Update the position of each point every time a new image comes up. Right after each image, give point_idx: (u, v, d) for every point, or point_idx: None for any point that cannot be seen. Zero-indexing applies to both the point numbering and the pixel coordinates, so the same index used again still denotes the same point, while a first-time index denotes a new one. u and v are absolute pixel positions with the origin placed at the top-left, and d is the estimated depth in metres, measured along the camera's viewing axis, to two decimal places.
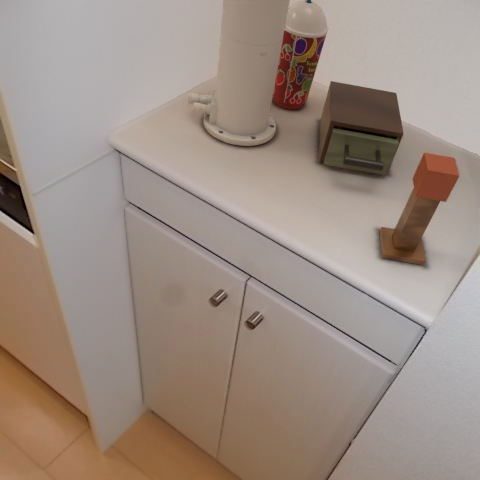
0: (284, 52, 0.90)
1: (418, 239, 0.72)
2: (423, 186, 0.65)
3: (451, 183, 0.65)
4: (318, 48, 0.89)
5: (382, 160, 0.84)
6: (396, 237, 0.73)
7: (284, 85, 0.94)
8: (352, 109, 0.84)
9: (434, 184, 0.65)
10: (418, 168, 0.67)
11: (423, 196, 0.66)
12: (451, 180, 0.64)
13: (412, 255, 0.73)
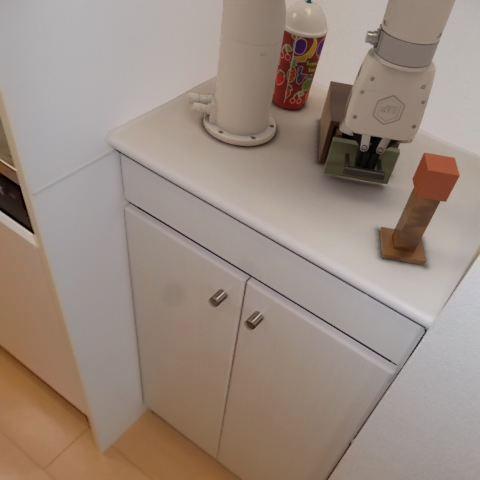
0: (284, 52, 0.90)
1: (418, 239, 0.72)
2: (423, 186, 0.65)
3: (451, 183, 0.65)
4: (318, 48, 0.89)
5: (383, 169, 0.82)
6: (396, 237, 0.73)
7: (284, 85, 0.94)
8: None
9: (434, 184, 0.65)
10: (418, 168, 0.67)
11: (423, 196, 0.66)
12: (451, 180, 0.64)
13: (412, 255, 0.73)
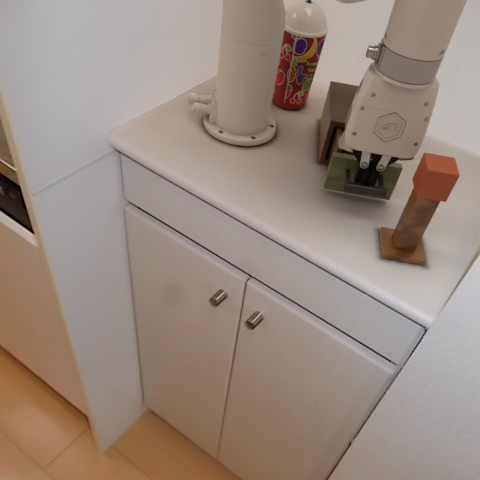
0: (284, 52, 0.90)
1: (418, 239, 0.72)
2: (423, 186, 0.65)
3: (451, 183, 0.65)
4: (318, 48, 0.89)
5: (385, 185, 0.79)
6: (396, 237, 0.73)
7: (284, 85, 0.94)
8: None
9: (434, 184, 0.65)
10: (418, 168, 0.67)
11: (423, 196, 0.66)
12: (451, 180, 0.64)
13: (412, 255, 0.73)
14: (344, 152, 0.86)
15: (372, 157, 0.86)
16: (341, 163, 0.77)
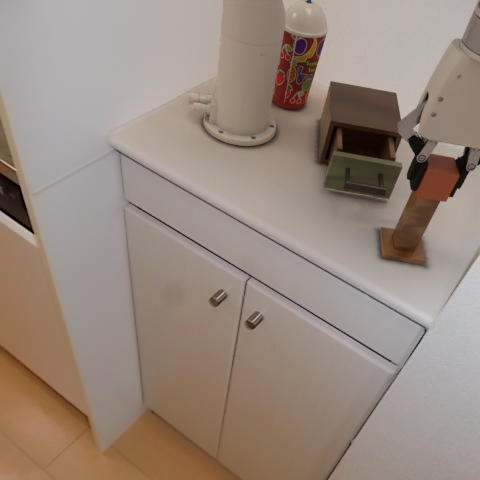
0: (284, 52, 0.90)
1: (418, 239, 0.72)
2: (423, 186, 0.65)
3: (451, 183, 0.65)
4: (318, 48, 0.89)
5: (385, 184, 0.79)
6: (396, 237, 0.73)
7: (284, 85, 0.94)
8: (352, 109, 0.84)
9: (434, 184, 0.65)
10: None
11: (423, 196, 0.66)
12: (451, 180, 0.64)
13: (412, 255, 0.73)
14: (344, 151, 0.87)
15: (372, 156, 0.87)
16: (341, 162, 0.77)
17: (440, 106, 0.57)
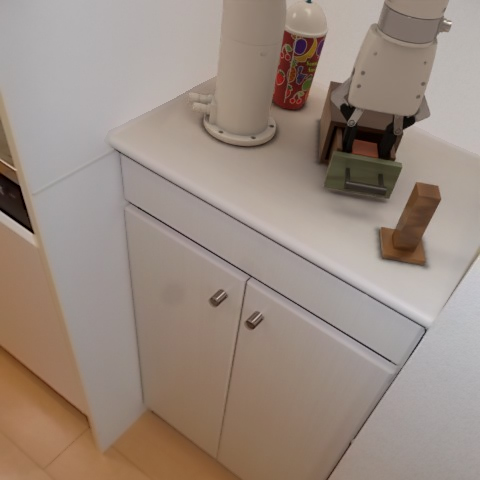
0: (284, 52, 0.90)
1: (418, 239, 0.72)
2: None
3: None
4: (318, 48, 0.89)
5: (385, 184, 0.79)
6: (396, 237, 0.73)
7: (284, 85, 0.94)
8: None
9: None
10: (348, 152, 0.83)
11: None
12: None
13: (412, 255, 0.73)
14: (344, 151, 0.87)
15: None
16: (341, 162, 0.77)
17: (363, 78, 0.70)
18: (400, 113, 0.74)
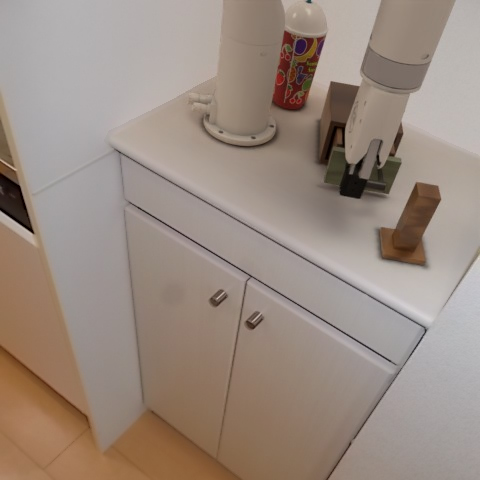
0: (284, 52, 0.90)
1: (418, 239, 0.72)
2: None
3: None
4: (318, 48, 0.89)
5: (384, 179, 0.80)
6: (396, 237, 0.73)
7: (284, 85, 0.94)
8: None
9: None
10: None
11: None
12: None
13: (412, 255, 0.73)
14: (344, 147, 0.87)
15: None
16: (341, 157, 0.78)
17: None
18: None
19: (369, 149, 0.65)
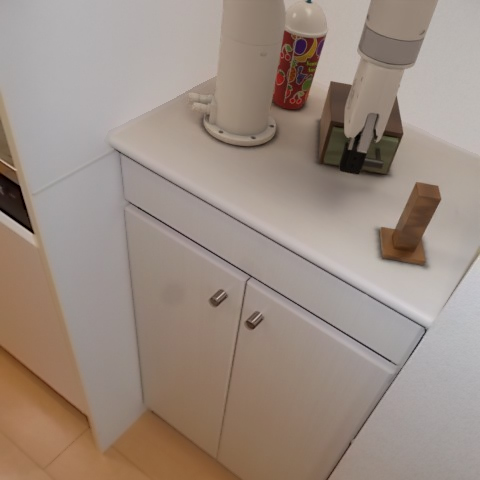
0: (284, 52, 0.90)
1: (418, 239, 0.72)
2: None
3: None
4: (318, 48, 0.89)
5: (382, 158, 0.84)
6: (396, 237, 0.73)
7: (284, 85, 0.94)
8: None
9: None
10: None
11: None
12: None
13: (412, 255, 0.73)
14: None
15: None
16: (340, 137, 0.82)
17: None
18: None
19: (366, 123, 0.69)
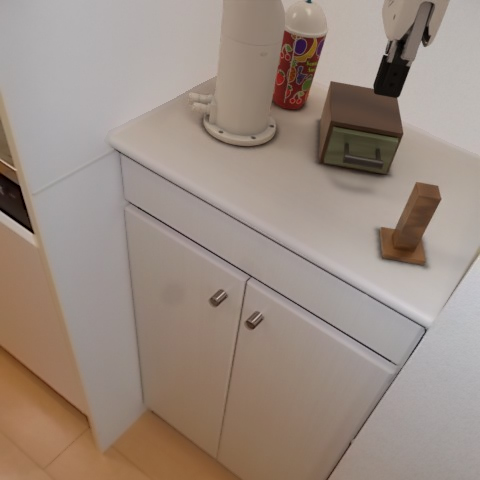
0: (284, 52, 0.90)
1: (418, 239, 0.72)
2: None
3: None
4: (318, 48, 0.89)
5: (382, 158, 0.84)
6: (396, 237, 0.73)
7: (284, 85, 0.94)
8: (352, 109, 0.84)
9: None
10: None
11: None
12: None
13: (412, 255, 0.73)
14: None
15: None
16: (340, 137, 0.82)
17: None
18: None
19: (416, 19, 0.54)
